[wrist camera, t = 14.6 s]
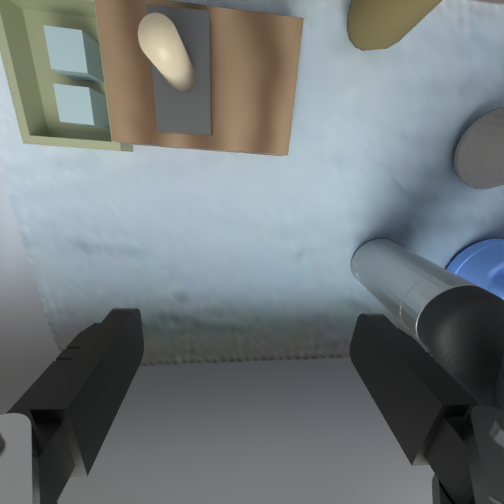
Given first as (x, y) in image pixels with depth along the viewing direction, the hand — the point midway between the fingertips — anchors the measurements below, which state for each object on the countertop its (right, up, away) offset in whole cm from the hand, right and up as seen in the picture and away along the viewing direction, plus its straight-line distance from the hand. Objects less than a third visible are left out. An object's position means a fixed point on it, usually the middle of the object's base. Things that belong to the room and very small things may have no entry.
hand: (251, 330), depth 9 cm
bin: (-23, +26, +23) cm, 41 cm away
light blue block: (-20, +21, +22) cm, 37 cm away
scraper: (-8, +23, +19) cm, 30 cm away
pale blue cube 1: (-19, +27, +20) cm, 38 cm away
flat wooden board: (-6, +25, +24) cm, 35 cm away
